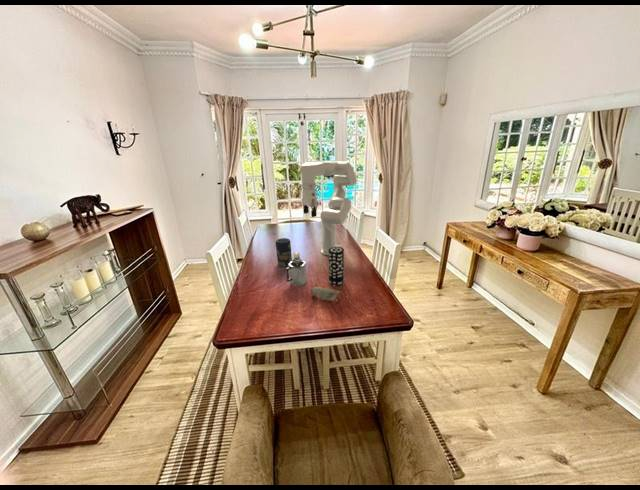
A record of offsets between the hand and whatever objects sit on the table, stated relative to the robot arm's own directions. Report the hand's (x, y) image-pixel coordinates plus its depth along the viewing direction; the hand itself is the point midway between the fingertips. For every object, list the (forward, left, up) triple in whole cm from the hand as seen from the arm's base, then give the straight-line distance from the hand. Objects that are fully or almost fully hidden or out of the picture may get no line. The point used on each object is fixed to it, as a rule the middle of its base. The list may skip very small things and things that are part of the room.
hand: (310, 214), depth 152 cm
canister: (+15, -10, -33) cm, 38 cm away
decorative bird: (+14, +39, -34) cm, 54 cm away
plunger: (+18, +16, -31) cm, 39 cm away
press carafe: (+19, +16, -33) cm, 41 cm away
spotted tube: (0, +28, -33) cm, 44 cm away
